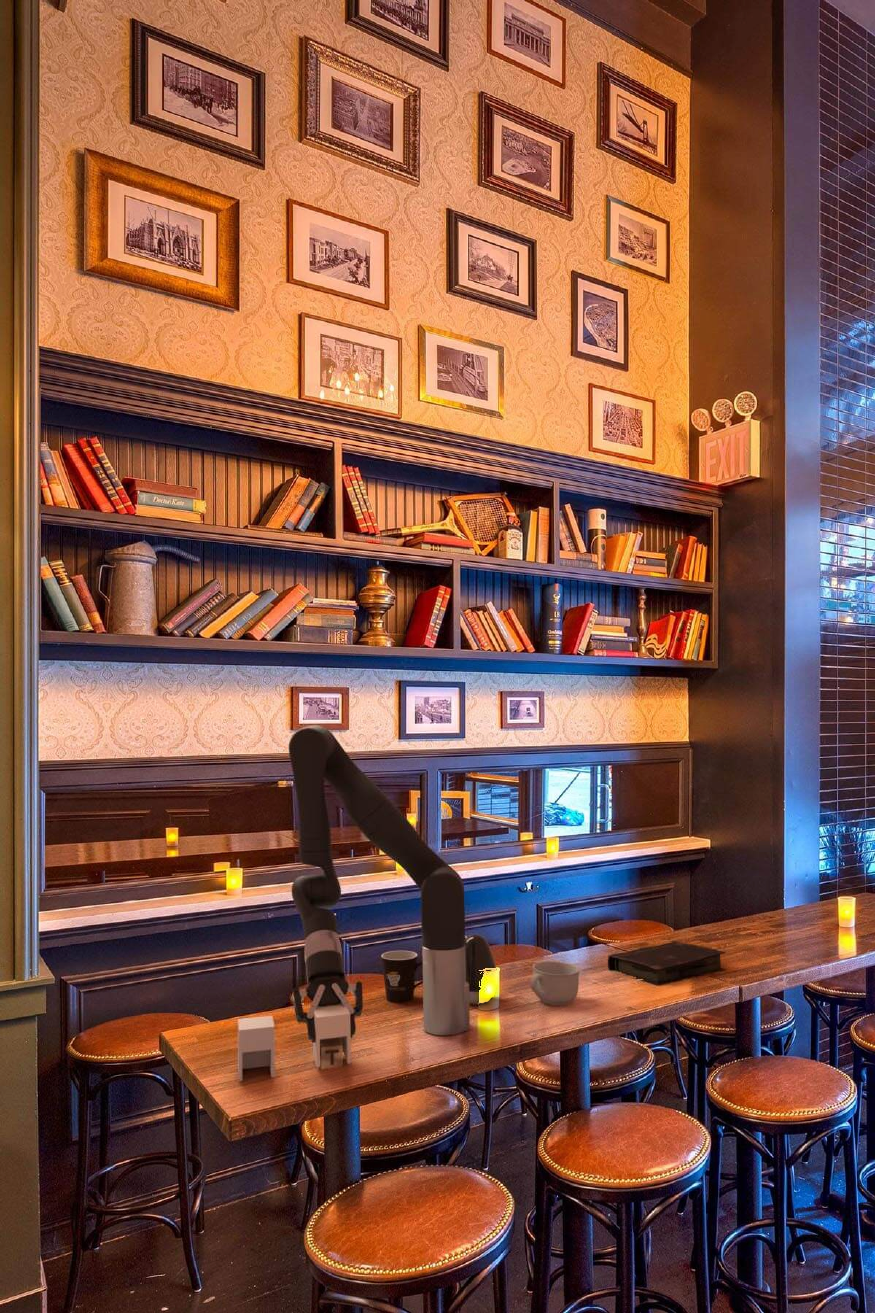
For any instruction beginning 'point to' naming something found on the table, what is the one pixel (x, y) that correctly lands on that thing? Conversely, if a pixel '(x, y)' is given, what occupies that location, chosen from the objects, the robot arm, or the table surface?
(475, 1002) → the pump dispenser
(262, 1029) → the grey cover
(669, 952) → the diary
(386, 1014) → the table surface
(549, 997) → the teacup
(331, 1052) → the letter cube
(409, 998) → the coffee mug
